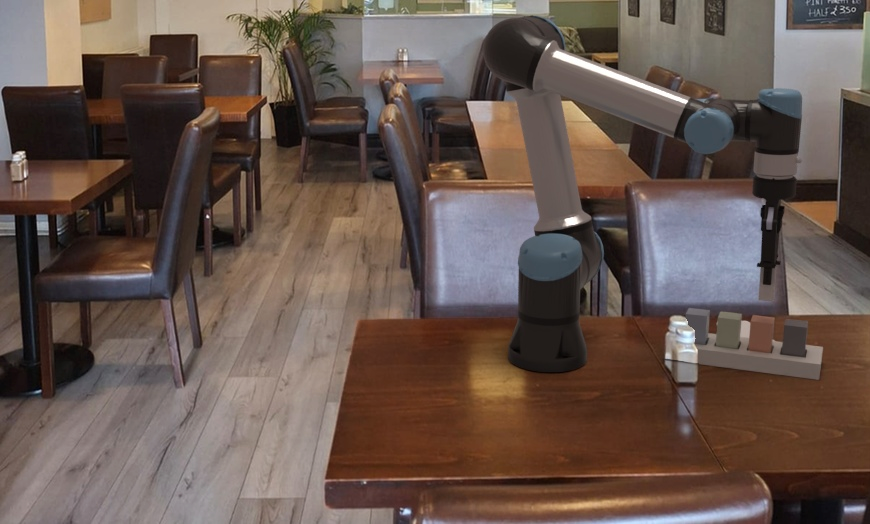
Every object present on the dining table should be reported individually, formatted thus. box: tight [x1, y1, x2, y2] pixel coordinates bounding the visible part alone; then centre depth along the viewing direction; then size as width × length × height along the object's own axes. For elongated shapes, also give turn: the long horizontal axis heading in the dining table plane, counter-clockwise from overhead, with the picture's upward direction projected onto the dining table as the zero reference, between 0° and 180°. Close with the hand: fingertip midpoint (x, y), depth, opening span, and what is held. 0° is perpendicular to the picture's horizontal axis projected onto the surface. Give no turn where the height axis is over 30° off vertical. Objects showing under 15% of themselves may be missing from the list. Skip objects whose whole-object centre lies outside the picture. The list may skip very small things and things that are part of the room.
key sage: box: [716, 311, 743, 349], centre depth 199 cm, size 4×4×6 cm
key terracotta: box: [748, 314, 776, 353], centre depth 196 cm, size 4×4×6 cm
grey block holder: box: [664, 332, 824, 381], centre depth 199 cm, size 28×10×3 cm, turn 68°
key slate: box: [685, 307, 711, 345], centre depth 201 cm, size 4×4×6 cm
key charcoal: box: [782, 318, 809, 357], centre depth 194 cm, size 4×4×6 cm
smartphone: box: [715, 320, 776, 341], centre depth 214 cm, size 7×1×15 cm
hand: (766, 299), depth 194 cm, fingers closed
